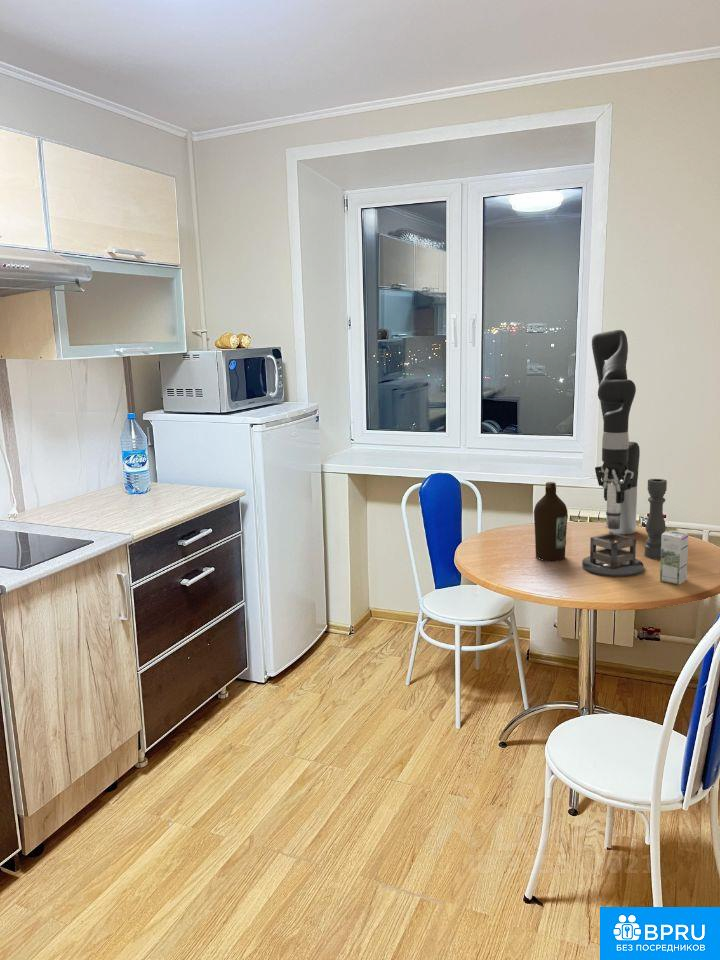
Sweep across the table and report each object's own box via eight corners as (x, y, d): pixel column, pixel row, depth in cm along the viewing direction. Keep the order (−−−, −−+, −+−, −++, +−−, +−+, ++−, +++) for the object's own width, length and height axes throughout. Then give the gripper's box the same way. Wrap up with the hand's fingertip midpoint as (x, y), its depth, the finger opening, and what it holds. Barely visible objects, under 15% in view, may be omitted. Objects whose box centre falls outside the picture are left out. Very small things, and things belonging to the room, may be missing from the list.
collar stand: (569, 565, 226) (570, 536, 225) (609, 555, 235) (610, 527, 233) (615, 580, 211) (615, 550, 209) (656, 569, 220) (657, 539, 218)
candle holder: (666, 558, 229) (669, 482, 224) (646, 558, 230) (648, 482, 225) (662, 553, 235) (665, 478, 230) (642, 552, 236) (645, 478, 231)
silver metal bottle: (603, 526, 223) (604, 482, 220) (617, 525, 223) (618, 481, 220) (608, 529, 218) (609, 484, 216) (622, 529, 218) (623, 484, 216)
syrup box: (687, 580, 209) (689, 532, 206) (678, 585, 205) (681, 536, 202) (667, 576, 213) (669, 529, 210) (659, 581, 209) (660, 533, 206)
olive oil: (527, 558, 236) (527, 484, 231) (543, 550, 243) (543, 478, 239) (557, 564, 229) (558, 487, 224) (572, 555, 236) (573, 481, 232)
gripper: (588, 445, 220) (587, 499, 223) (625, 450, 208) (624, 507, 211) (605, 442, 224) (604, 496, 227) (643, 447, 211) (641, 504, 215)
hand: (613, 501), depth 219 cm, fingers closed on silver metal bottle, 4 cm apart
